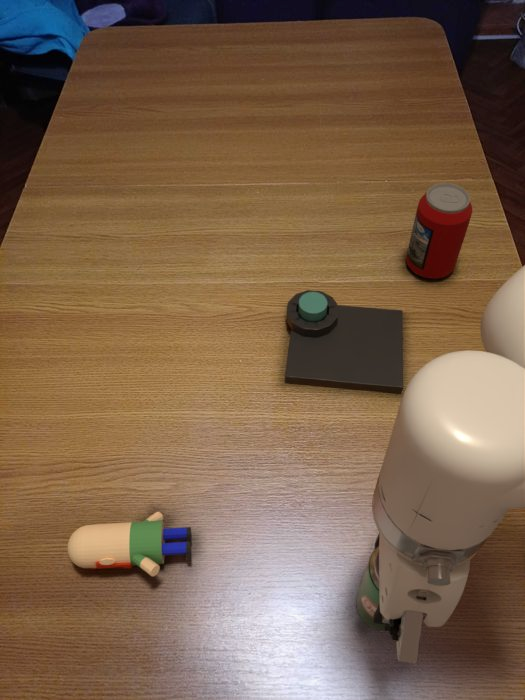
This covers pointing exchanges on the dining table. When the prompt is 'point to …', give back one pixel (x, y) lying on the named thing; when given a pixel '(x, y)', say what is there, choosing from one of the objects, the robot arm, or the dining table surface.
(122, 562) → the toy figurine
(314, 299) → the button
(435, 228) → the beverage can
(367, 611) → the soda can
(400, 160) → the dining table surface
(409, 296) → the dining table surface
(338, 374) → the scale
